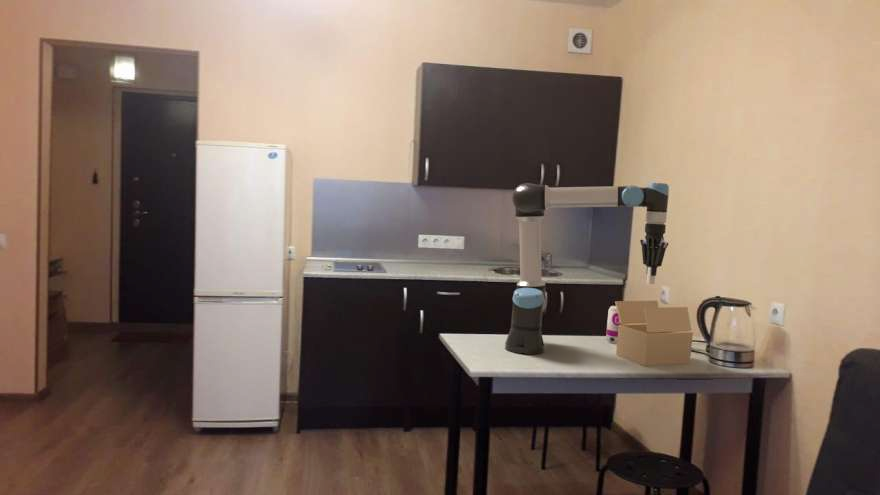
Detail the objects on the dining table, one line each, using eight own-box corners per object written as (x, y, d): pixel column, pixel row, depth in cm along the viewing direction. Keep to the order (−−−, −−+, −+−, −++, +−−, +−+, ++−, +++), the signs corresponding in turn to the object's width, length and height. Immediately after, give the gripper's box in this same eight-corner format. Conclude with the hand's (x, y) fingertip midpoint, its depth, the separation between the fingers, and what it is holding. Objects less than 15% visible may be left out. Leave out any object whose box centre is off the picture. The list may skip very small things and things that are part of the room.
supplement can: (626, 345, 268) (629, 310, 266) (606, 343, 269) (609, 308, 268) (624, 341, 276) (627, 306, 274) (605, 339, 277) (608, 305, 276)
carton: (644, 366, 234) (647, 334, 233) (616, 355, 249) (618, 324, 248) (689, 363, 243) (692, 332, 242) (660, 352, 258) (662, 323, 257)
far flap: (615, 301, 251) (615, 301, 251) (621, 323, 248) (620, 323, 248) (656, 300, 259) (656, 301, 260) (662, 322, 256) (661, 322, 256)
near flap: (647, 332, 234) (648, 332, 234) (643, 308, 236) (644, 307, 236) (690, 330, 242) (691, 330, 242) (686, 307, 245) (687, 307, 244)
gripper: (675, 224, 242) (670, 286, 244) (651, 222, 254) (646, 281, 256) (660, 224, 239) (654, 286, 241) (636, 221, 251) (631, 281, 253)
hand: (650, 283), depth 248 cm, fingers closed
